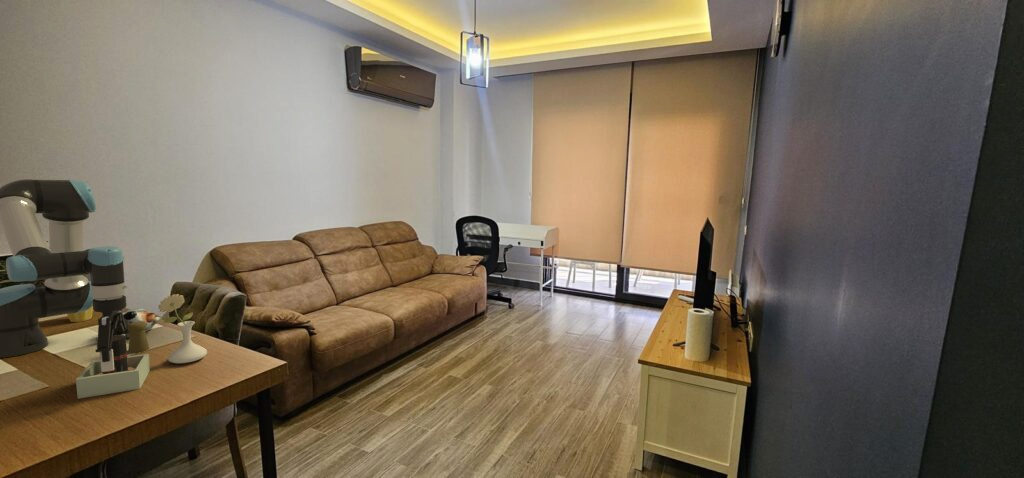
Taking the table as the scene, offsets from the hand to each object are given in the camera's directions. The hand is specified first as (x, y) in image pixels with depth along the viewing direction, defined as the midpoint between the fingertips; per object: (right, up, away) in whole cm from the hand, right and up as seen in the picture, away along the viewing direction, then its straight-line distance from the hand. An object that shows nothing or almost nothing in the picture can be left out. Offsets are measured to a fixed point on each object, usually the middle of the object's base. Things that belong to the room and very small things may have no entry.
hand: (114, 362), depth 132 cm
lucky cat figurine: (-30, -1, +41) cm, 51 cm away
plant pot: (-66, +3, +53) cm, 84 cm away
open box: (0, -7, +1) cm, 7 cm away
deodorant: (0, -7, +1) cm, 7 cm away
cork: (-15, -3, +26) cm, 30 cm away
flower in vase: (+7, -5, +19) cm, 21 cm away
